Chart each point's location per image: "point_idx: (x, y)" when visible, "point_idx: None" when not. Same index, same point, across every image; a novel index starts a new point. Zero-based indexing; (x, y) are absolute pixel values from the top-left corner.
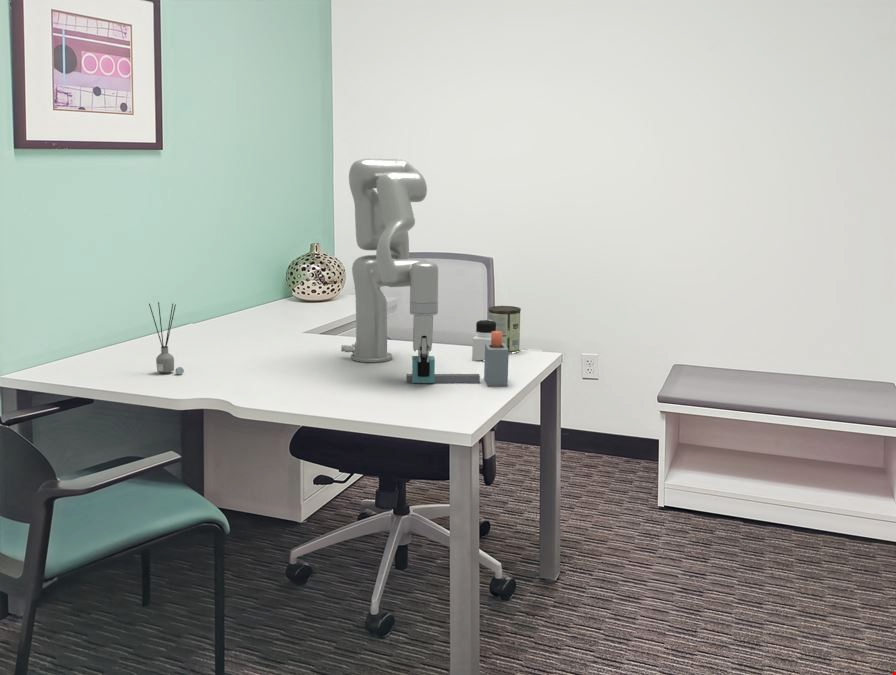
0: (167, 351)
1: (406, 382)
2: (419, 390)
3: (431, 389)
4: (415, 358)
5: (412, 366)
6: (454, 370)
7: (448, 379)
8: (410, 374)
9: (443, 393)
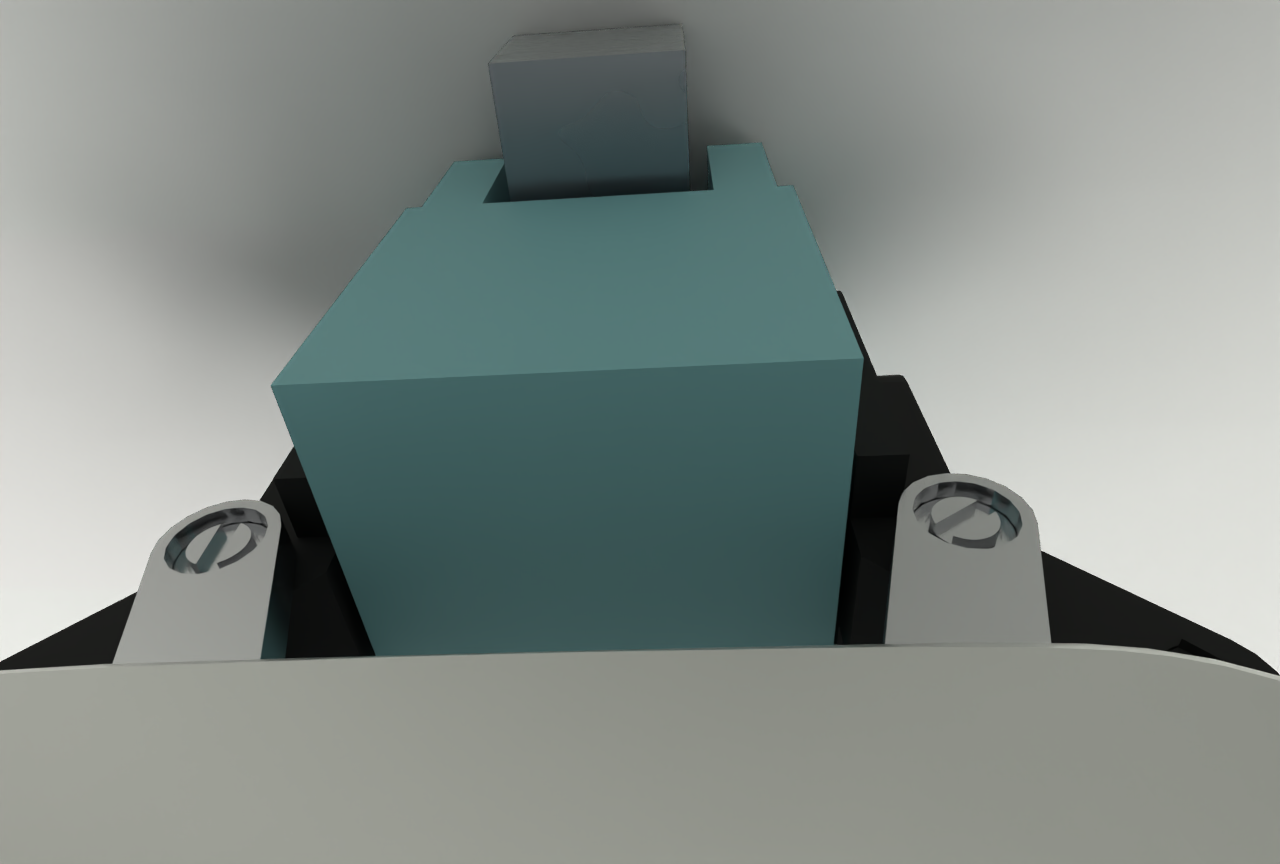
0: None
1: (509, 40)
2: (88, 284)
3: (217, 433)
4: (481, 455)
5: (346, 293)
6: (1270, 655)
7: None
8: (624, 149)
9: (82, 552)
